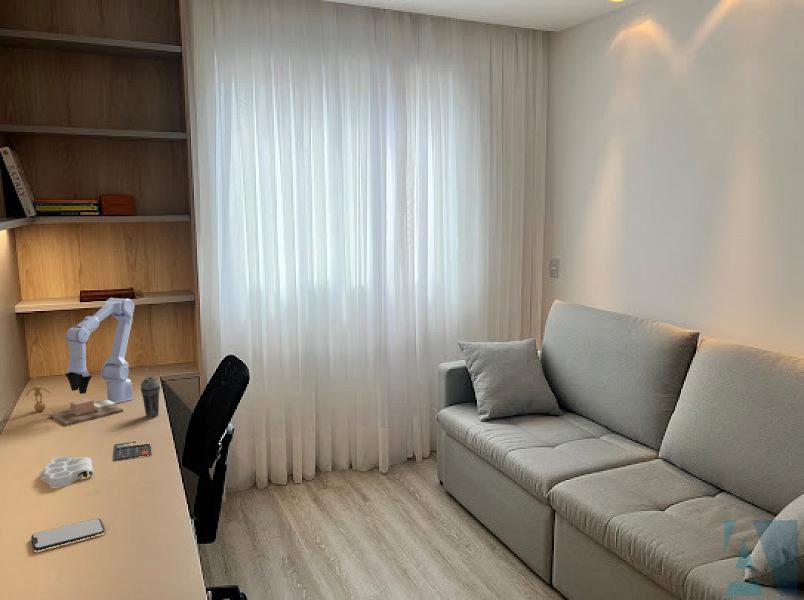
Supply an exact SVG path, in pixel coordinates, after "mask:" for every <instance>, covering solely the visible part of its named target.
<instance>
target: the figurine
mask: <svg viewBox="0 0 804 600" xmlns="http://www.w3.org/2000/svg"><path fill="white" fill-rule="evenodd" d="M41 390H43V391H44V390H45V391H46V392H47V393H48V394H49V395H51V393H50V391H49V390H48V389H47V388H45V387H42V386H40V385H39V384H38V383H36V384H35V386H34V387H32V388H31V389H29V390H27V393H26V397H28V395H29V393H30V392H31V391H34V393H33V394H34V397H35V401H36V402H35V403H34V407H33V408H34V410H35V411H37V412H42V411H44V410H45V409H46V403H45V402H44V401H42V399H43V393H42V392H41ZM38 396H39V401H38Z"/></svg>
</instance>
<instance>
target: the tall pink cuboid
mask: <svg viewBox="0 0 804 600" xmlns="http://www.w3.org/2000/svg"><path fill="white" fill-rule="evenodd" d="M94 402H95V400H94V399H92V398H89V397H87V398H82V399H78V400H74V401H70V402H69V404H70V410H71V413H72V414H74V415H76V416H77V415H81V414H85V413H89V412H94V411H95V410H94Z"/></svg>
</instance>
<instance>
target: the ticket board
mask: <svg viewBox="0 0 804 600" xmlns="http://www.w3.org/2000/svg"><path fill="white" fill-rule="evenodd" d="M94 410H95V411H94V412H89V413H85V414H81V415H77V416H76V415H74V414H72V413H71V409H68V410H63V411H59V412H55V413H51V414H49V418H51V419H52V418H53V420H54V419H55V420H54V421H56V420H57V421H56V422H58V421H59V422H58V423H60V422H61V423H60V424H62V423H63V424H64V425H63V424H62V425H63V426H65V425H66V427H68V426H67V425H69V426H72V425H71V424H73V425H75V423H77V424H80V423H79V422H81V423H84V421H85V422H88V421H87V420H89V421H91V420H95V419H101V418H104V417H107V416H111V415H115V413H116V414H119V412H120V413H123V412H124V409H123V408H121V407H119V406H117V403H115V402H112V401H110V400H108V398H106V400H105V399H102V400H98V401H97V400H96V401H94Z"/></svg>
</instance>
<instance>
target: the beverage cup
mask: <svg viewBox="0 0 804 600" xmlns="http://www.w3.org/2000/svg"><path fill="white" fill-rule="evenodd" d="M145 370H146V378H145V379H144V380H142V382H141V384H140V392H141V394H142V399H143V406H144V412H145V417H146V418H148V417H153V418H156V417H155V416H157V417H159V412H160V411H159V409H160V389H161V386H160V385H161V384H160V382H159V380H158V379H156V378H155V377H150V375H149V371H148V367H145Z"/></svg>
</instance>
